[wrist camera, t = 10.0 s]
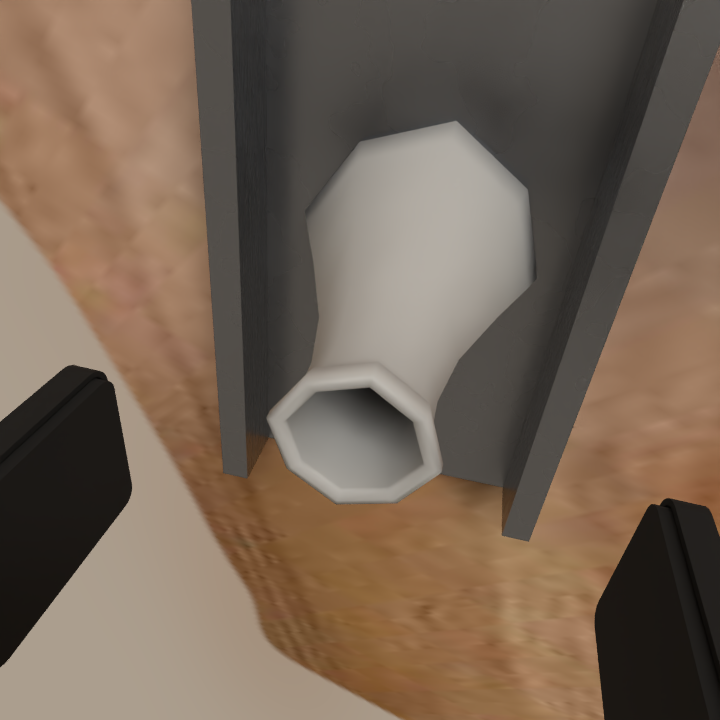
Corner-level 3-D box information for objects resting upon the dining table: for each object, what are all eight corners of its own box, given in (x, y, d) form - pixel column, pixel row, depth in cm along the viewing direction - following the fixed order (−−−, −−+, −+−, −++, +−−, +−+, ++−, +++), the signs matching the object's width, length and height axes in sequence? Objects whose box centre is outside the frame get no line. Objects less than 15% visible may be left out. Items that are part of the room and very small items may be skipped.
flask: (575, 286, 19) (624, 531, 11) (384, 365, 22) (308, 599, 14) (471, 70, 16) (429, 178, 8) (270, 196, 19) (94, 365, 11)
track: (526, 475, 25) (528, 541, 22) (254, 418, 26) (223, 473, 23) (743, -150, 13) (805, -181, 10) (240, -187, 15) (176, -223, 12)
